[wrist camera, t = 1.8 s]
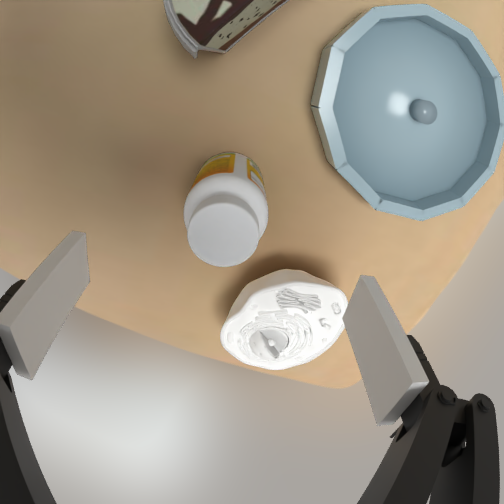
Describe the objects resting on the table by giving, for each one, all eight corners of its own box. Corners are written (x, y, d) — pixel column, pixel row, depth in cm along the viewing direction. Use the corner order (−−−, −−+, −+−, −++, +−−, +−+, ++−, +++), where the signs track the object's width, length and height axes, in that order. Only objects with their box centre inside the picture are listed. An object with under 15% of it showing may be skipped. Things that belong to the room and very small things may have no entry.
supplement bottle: (189, 201, 26) (163, 261, 18) (209, 141, 24) (190, 176, 16) (248, 221, 28) (250, 289, 19) (273, 165, 25) (288, 211, 17)
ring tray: (336, -20, 17) (346, -30, 15) (500, 63, 19) (518, 65, 17) (292, 182, 26) (297, 193, 23) (456, 222, 28) (470, 234, 25)
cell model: (352, 303, 32) (371, 349, 27) (256, 348, 35) (257, 396, 30) (312, 229, 28) (330, 271, 22) (202, 287, 31) (194, 336, 25)
